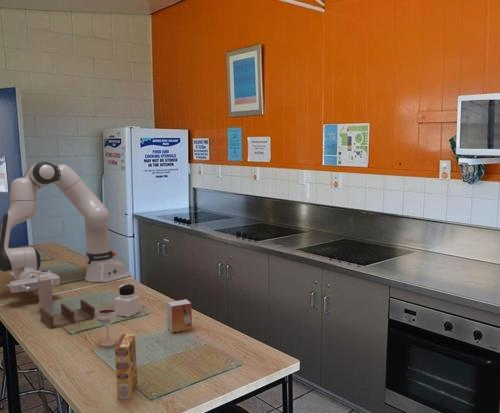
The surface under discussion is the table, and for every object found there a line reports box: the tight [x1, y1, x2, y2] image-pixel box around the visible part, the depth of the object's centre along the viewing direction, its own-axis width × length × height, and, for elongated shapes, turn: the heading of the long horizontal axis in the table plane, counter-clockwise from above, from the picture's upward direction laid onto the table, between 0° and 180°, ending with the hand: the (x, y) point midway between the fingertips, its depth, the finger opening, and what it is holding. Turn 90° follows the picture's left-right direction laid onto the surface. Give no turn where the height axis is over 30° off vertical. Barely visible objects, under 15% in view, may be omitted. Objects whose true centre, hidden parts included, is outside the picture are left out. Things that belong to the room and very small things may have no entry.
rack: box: [39, 299, 96, 330], centre depth 190 cm, size 17×13×4 cm
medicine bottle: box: [114, 283, 140, 318], centre depth 195 cm, size 7×7×12 cm
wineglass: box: [96, 306, 118, 347], centre depth 167 cm, size 7×7×12 cm
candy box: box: [114, 333, 138, 401], centre depth 134 cm, size 9×4×15 cm, turn 3°
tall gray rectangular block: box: [37, 277, 54, 314], centre depth 198 cm, size 4×5×14 cm
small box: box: [166, 299, 193, 334], centre depth 179 cm, size 8×6×10 cm
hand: (39, 287), depth 203 cm, fingers open, 8 cm apart
